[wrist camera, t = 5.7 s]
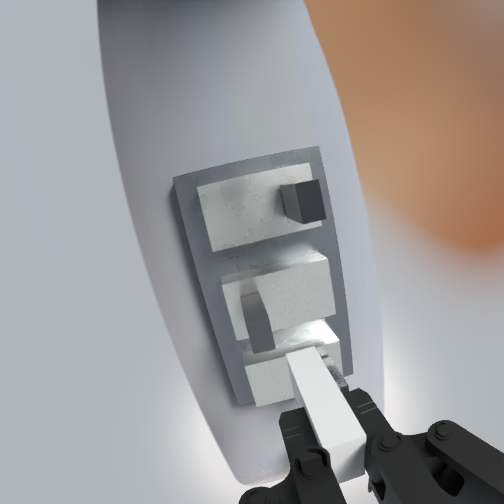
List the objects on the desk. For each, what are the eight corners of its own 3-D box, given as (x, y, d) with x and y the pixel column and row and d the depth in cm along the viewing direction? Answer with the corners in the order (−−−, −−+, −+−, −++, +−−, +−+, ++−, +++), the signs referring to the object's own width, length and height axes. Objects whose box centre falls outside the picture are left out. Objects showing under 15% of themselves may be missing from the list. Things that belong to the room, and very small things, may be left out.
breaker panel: (175, 178, 27) (153, 172, 17) (312, 148, 28) (353, 131, 18) (237, 395, 32) (244, 456, 23) (346, 364, 33) (382, 414, 23)
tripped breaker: (240, 297, 25) (245, 322, 20) (259, 292, 25) (268, 316, 20) (247, 325, 25) (253, 354, 20) (266, 321, 25) (276, 348, 21)
